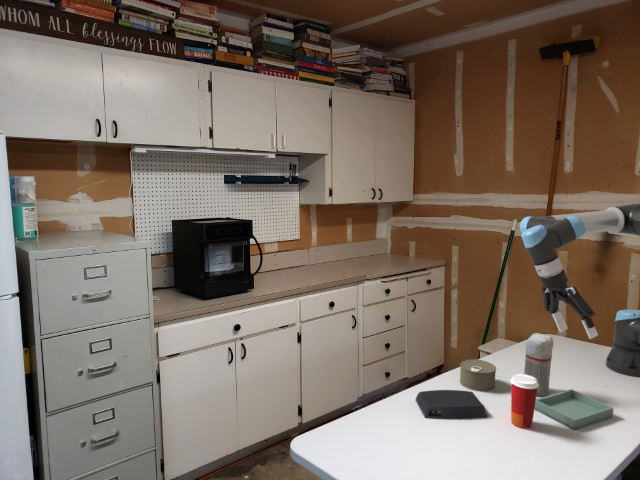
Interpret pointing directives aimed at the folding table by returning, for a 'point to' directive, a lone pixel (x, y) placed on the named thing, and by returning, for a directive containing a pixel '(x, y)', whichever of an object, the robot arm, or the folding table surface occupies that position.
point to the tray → (573, 409)
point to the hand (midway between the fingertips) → (578, 333)
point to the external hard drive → (450, 404)
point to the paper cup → (523, 400)
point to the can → (477, 375)
